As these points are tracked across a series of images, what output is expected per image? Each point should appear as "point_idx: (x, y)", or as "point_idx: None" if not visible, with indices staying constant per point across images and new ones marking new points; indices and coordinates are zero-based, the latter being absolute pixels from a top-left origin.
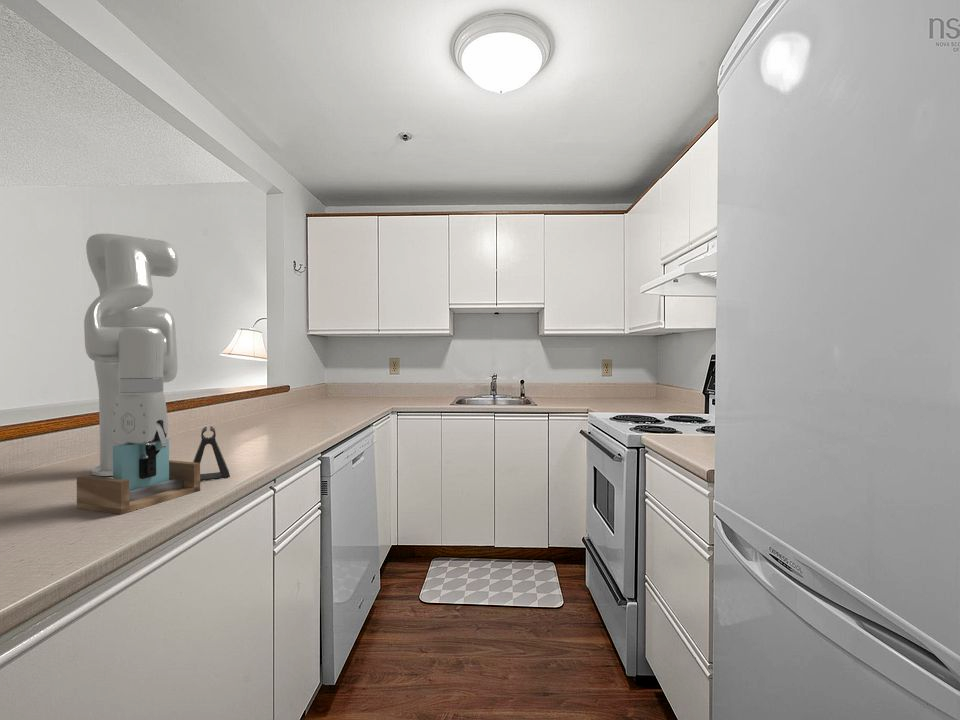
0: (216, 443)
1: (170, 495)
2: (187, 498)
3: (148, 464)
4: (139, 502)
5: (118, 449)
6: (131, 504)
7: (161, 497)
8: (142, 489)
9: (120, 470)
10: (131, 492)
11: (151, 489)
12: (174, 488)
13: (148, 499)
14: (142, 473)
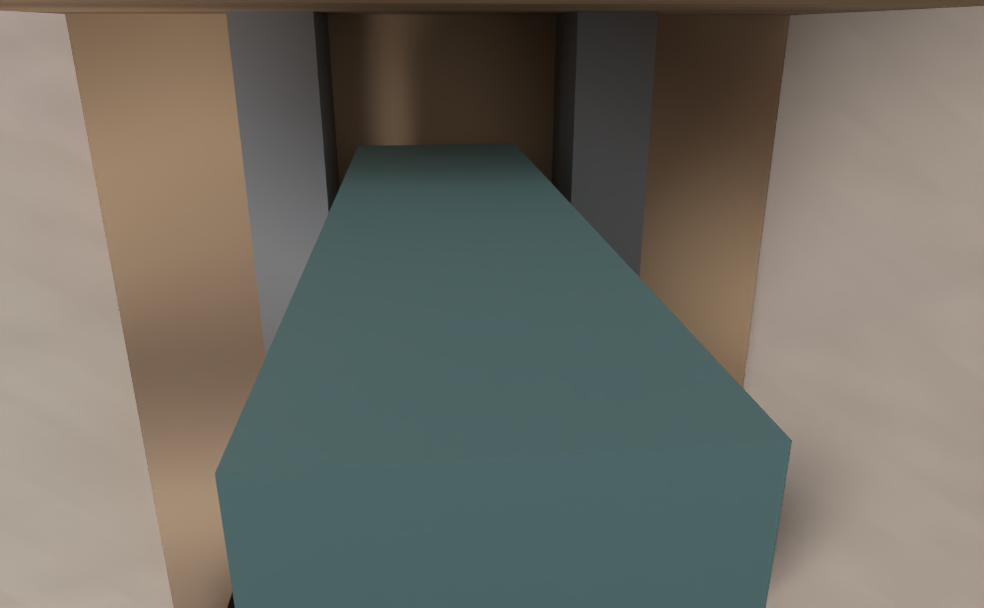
0: None
1: (154, 467)
2: (54, 520)
3: (230, 605)
4: (140, 172)
5: (412, 393)
6: (137, 85)
7: (133, 380)
8: (265, 326)
9: (364, 209)
10: (249, 191)
11: None
12: None
13: (167, 279)
14: None
